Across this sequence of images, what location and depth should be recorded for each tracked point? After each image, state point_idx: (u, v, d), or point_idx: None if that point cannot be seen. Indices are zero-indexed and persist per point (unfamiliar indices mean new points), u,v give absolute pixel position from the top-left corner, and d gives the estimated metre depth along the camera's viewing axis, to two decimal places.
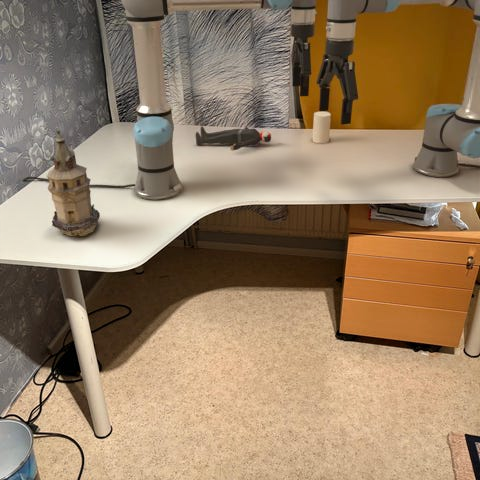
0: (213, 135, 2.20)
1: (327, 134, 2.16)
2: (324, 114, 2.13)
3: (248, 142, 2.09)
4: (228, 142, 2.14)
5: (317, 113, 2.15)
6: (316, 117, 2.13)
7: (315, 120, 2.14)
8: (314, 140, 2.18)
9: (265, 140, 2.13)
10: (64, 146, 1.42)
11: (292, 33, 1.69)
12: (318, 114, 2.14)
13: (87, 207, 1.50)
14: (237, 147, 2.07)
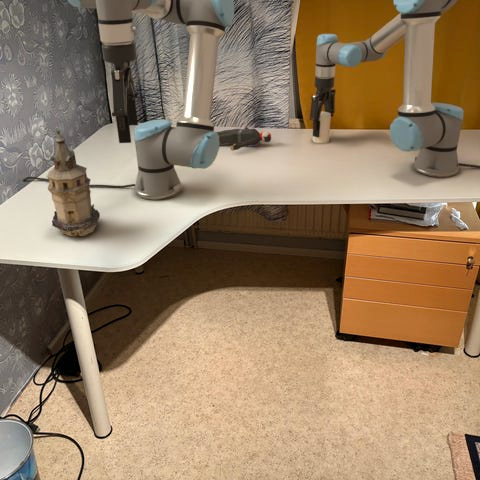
0: None
1: (327, 134, 2.16)
2: (324, 114, 2.13)
3: (248, 142, 2.09)
4: (228, 142, 2.14)
5: None
6: None
7: None
8: (314, 140, 2.18)
9: (265, 140, 2.13)
10: (64, 146, 1.42)
11: (103, 56, 1.22)
12: None
13: (87, 207, 1.50)
14: (237, 147, 2.07)
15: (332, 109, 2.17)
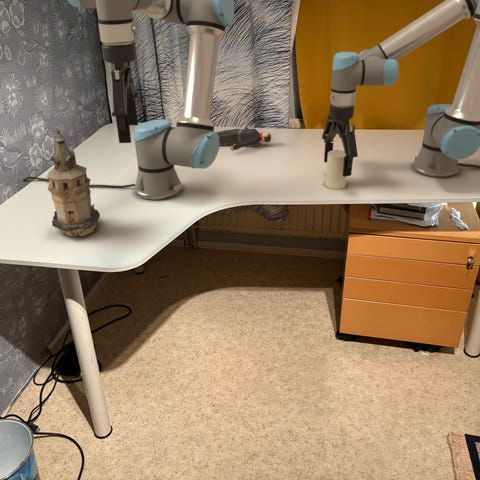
0: None
1: None
2: (343, 153, 1.75)
3: (248, 142, 2.09)
4: (228, 142, 2.14)
5: (334, 155, 1.74)
6: (341, 159, 1.73)
7: (339, 163, 1.73)
8: (337, 186, 1.77)
9: (265, 140, 2.13)
10: (64, 146, 1.42)
11: (103, 56, 1.22)
12: (338, 155, 1.74)
13: (87, 207, 1.50)
14: (237, 147, 2.07)
15: None
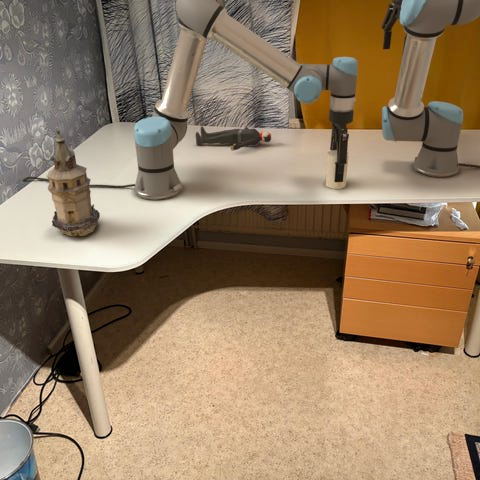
0: (213, 135, 2.20)
1: None
2: None
3: (248, 142, 2.09)
4: (228, 142, 2.14)
5: (334, 154, 1.74)
6: None
7: None
8: (337, 186, 1.77)
9: (265, 140, 2.13)
10: (64, 146, 1.42)
11: (330, 119, 1.68)
12: None
13: (87, 207, 1.50)
14: (237, 147, 2.07)
15: None
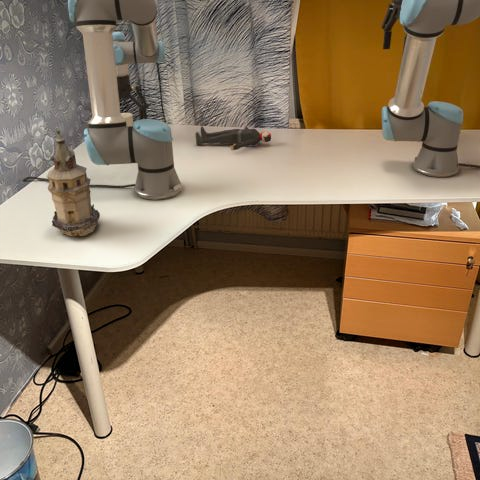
0: (213, 135, 2.20)
1: None
2: (123, 114, 2.18)
3: (248, 142, 2.09)
4: (228, 142, 2.14)
5: (128, 115, 2.16)
6: None
7: None
8: None
9: (265, 140, 2.13)
10: (64, 146, 1.42)
11: (125, 83, 2.08)
12: (128, 114, 2.17)
13: (87, 207, 1.50)
14: (237, 147, 2.07)
15: None
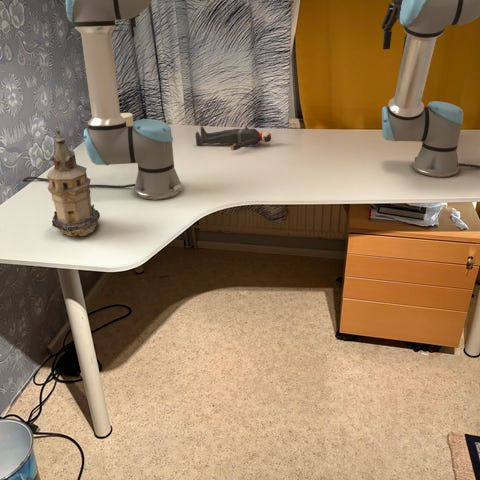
0: (213, 135, 2.20)
1: None
2: (123, 114, 2.18)
3: (248, 142, 2.09)
4: (228, 142, 2.14)
5: (128, 115, 2.16)
6: None
7: None
8: None
9: (265, 140, 2.13)
10: (64, 146, 1.42)
11: None
12: (128, 114, 2.17)
13: (87, 207, 1.50)
14: (237, 147, 2.07)
15: None
